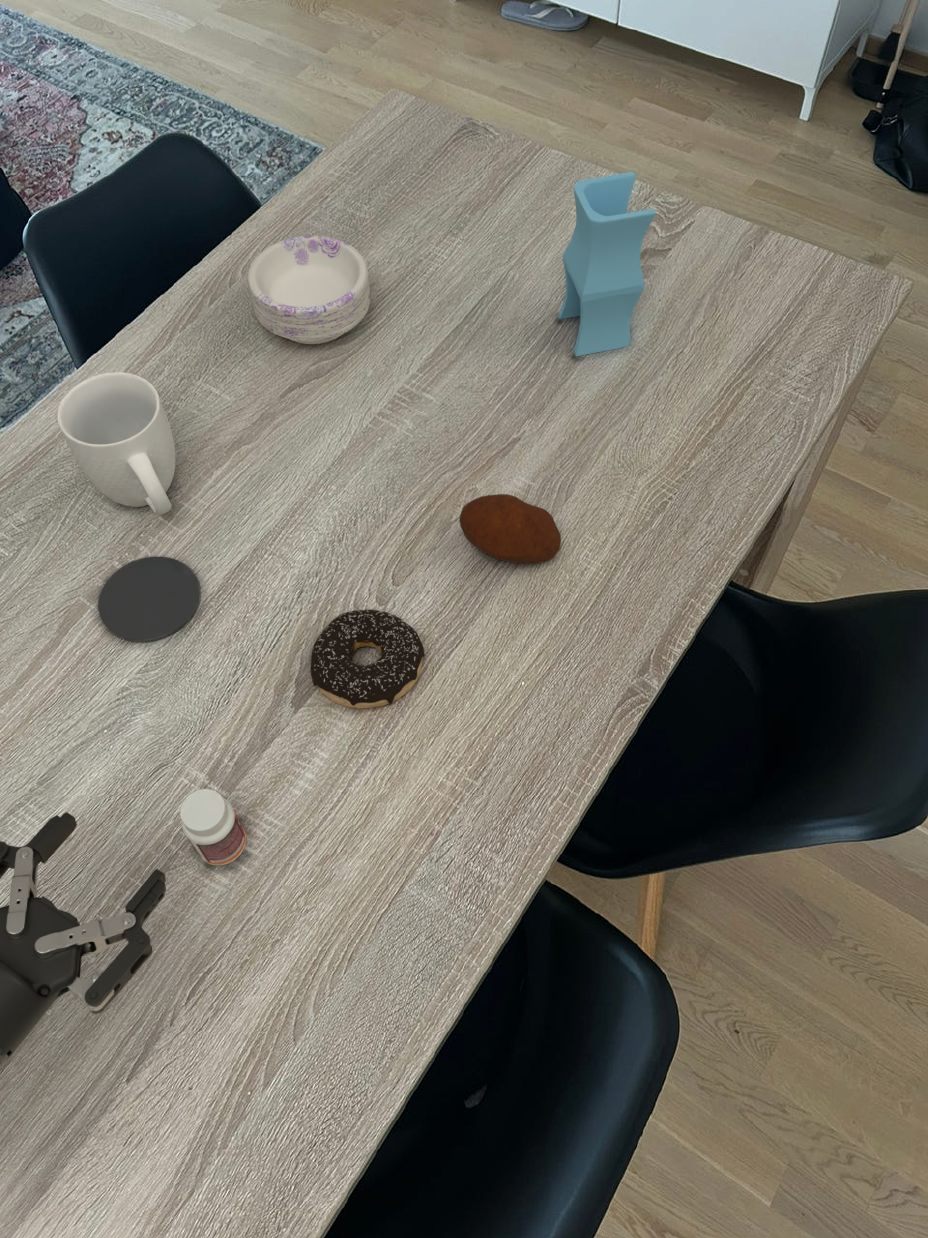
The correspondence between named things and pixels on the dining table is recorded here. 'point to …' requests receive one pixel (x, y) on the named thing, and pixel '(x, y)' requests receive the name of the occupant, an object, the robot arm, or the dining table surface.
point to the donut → (366, 681)
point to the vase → (604, 263)
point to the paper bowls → (309, 288)
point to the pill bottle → (212, 827)
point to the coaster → (149, 599)
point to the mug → (121, 438)
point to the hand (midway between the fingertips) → (116, 846)
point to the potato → (510, 529)
